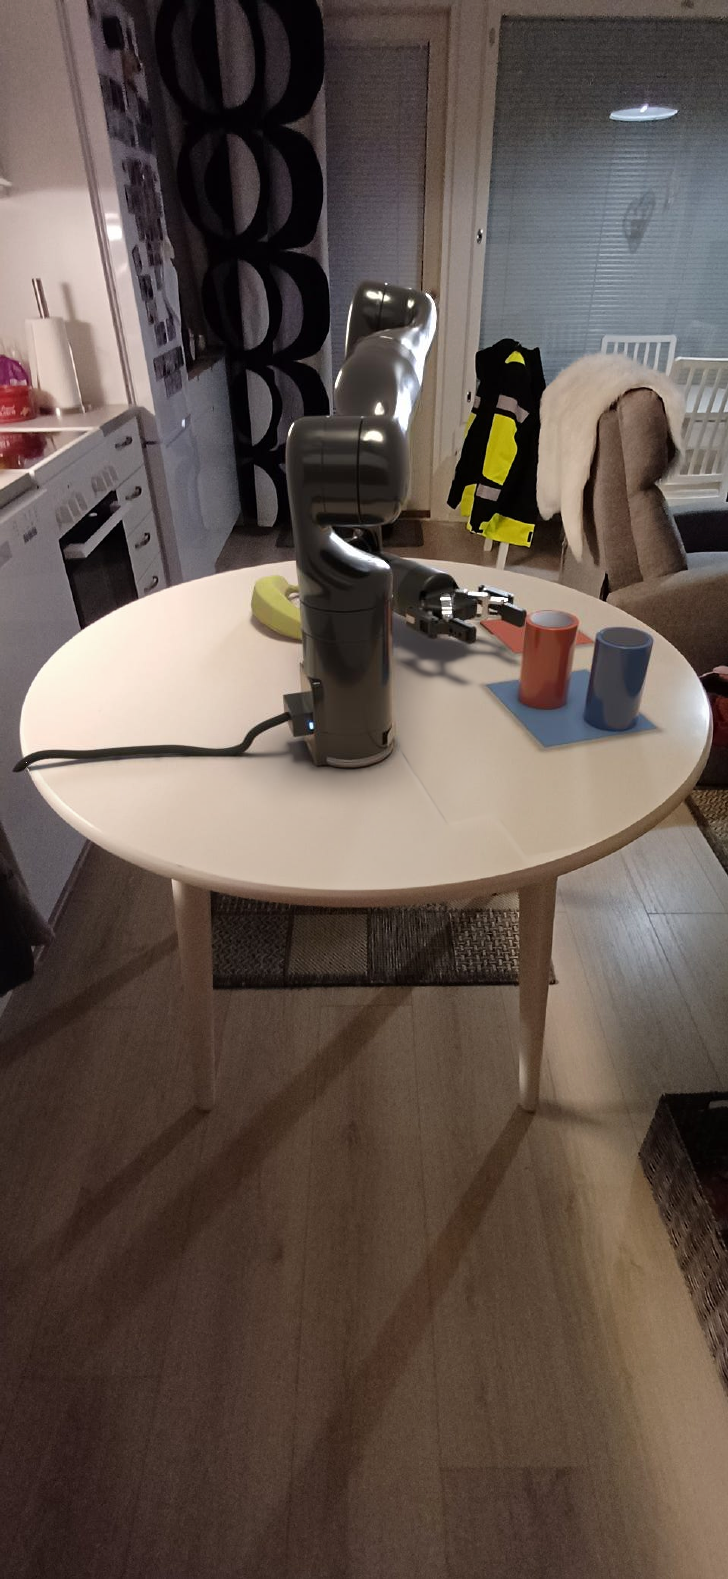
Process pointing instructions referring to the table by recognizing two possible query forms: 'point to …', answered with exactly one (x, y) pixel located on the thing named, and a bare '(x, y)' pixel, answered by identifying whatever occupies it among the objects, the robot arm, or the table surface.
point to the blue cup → (617, 678)
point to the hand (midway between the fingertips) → (500, 627)
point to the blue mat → (559, 714)
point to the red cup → (547, 659)
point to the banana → (276, 606)
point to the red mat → (517, 634)
